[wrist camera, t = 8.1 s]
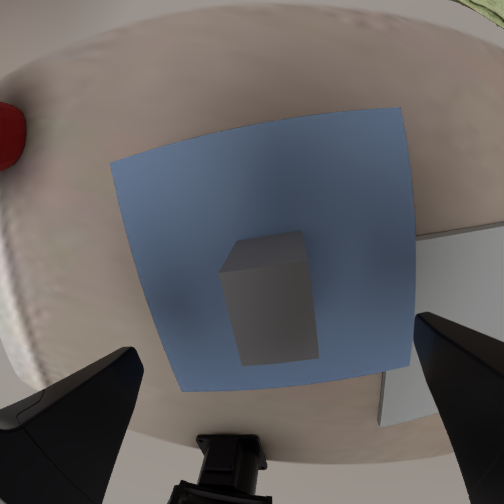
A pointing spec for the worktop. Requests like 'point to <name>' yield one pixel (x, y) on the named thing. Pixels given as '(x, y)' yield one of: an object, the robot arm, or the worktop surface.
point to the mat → (448, 306)
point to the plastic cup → (11, 135)
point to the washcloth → (487, 9)
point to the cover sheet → (266, 199)
